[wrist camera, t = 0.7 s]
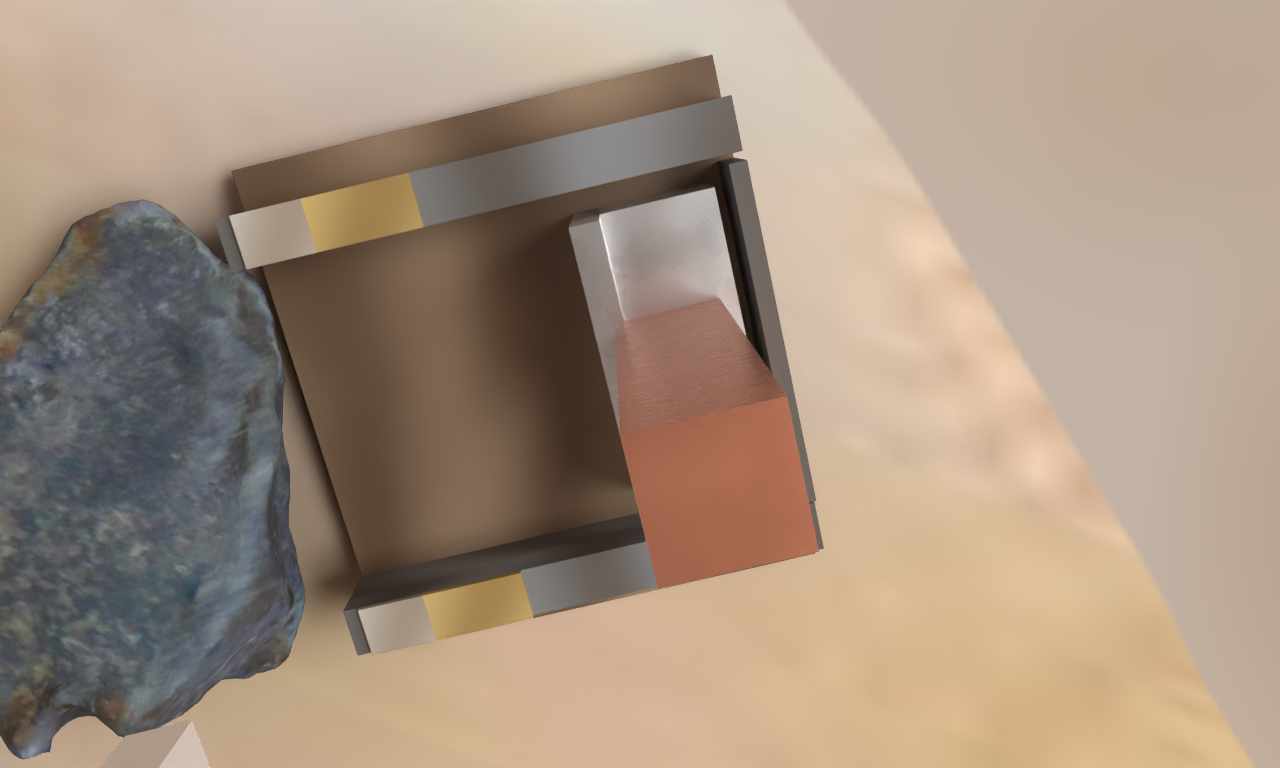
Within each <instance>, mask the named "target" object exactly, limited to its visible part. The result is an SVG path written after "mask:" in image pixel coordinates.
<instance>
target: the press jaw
mask: <svg viewBox="0 0 1280 768" xmlns="http://www.w3.org/2000/svg"><path fill="white" fill-rule="evenodd" d="M569 232H570V236H571V240H572V244H573V248H574V252H575V256H576V260H577V264H578V268H579V272H580V276H581V280H582V284H583V288H584V292H585V296H586V300H587V305H588V309H589V313H590V317H591V321H592V325H593V329H594V333H595V337H596V341H597V345H598V349H599V353H600V357H601V361H602V365H603V369H604V373H605V377H606V381H607V385H608V389H609V393H610V397H611V401H612V405H613V409H614V413H615V417H616V421H617V425H618V429H619V434H620V438H621V442H622V446H623V450H624V454H625V458H626V462H627V466H628V470H629V474H630V478H631V482H632V486H633V490H634V494H635V498H636V502H637V506H638V510H639V514H640V518H641V522H642V526H643V530H644V534H645V538H646V542H647V546H648V550H649V554H650V558H651V562H652V566H653V570H654V574H655V578H656V582H657V586H658V588H662V587H667V586H671V585H675V584H680V583H684V582H689V581H693V580H697V579H702V578H706V577H710V576H715V575H719V574H723V573H728V572H732V571H736V570H741V569H745V568H750V567H754V566H758V565H763V564H767V563H771V562H776V561H780V560H784V559H789V558H793V557H797V556H802V555H806V554H810V553H815V552H819V549H818V544H817V539H816V534H815V529H814V524H813V519H812V515H811V510H810V505H809V500H808V495H807V490H806V485H805V480H804V476H803V471H802V466H801V461H800V456H799V451H798V446H797V441H796V437H795V432H794V427H793V422H792V417H791V412H790V407H789V402H788V398H787V395H786V393H785V392H784V391H783V389H782V388H781V386H780V385H779V383H778V382H777V380H776V379H775V378H774V376H773V375H772V373H771V372H770V370H769V369H768V367H767V366H766V365H765V363H764V362H763V360H762V359H761V357H760V356H759V354H758V353H757V351H756V350H755V349H754V347H753V346H752V344H751V343H750V341H749V340H748V338H747V337H746V333H745V328H744V324H743V319H742V314H741V309H740V305H739V300H738V295H737V291H736V286H735V281H734V276H733V272H732V267H731V262H730V257H729V253H728V248H727V243H726V239H725V234H724V229H723V224H722V220H721V215H720V210H719V206H718V201H717V196H716V191H715V187H713V186H711V185H709V184H707V183H705V182H702V183H698V184H694V185H690V186H686V187H681V188H677V189H673V190H669V191H665V192H660V193H656V194H652V195H648V196H644V197H640V198H635V199H631V200H627V201H623V202H619V203H614V204H610V205H606V206H602V207H598V208H593V209H589V210H585V211H581V212H577V213H574V215H573V218H572V220H571V223H570V225H569Z"/></svg>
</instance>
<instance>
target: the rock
mask: <svg viewBox="0 0 1280 768" xmlns="http://www.w3.org/2000/svg"><path fill="white" fill-rule="evenodd" d="M284 383H285V378H284V373H283V366H282V358H281V354H280V349H279V345H278V341H277V338H276V332H275V325H274V316H273V314H272V312H271V310H270V308H269V305H268V303H267V300H266V296H265V292H264V291H263V289H262V288H261V287H260V285H259V284H258V283H257V282H256V280H255V279H254V278H253V277H252V276H251V275H250V274H249V273H248V272H247V271H245V270H241V271H237V272H233V273H231V270H230V267H229V264H228V263H227V262H225V261H224V260H222V259H221V258H219V257H218V256H216V255H215V254H214V253H213V252H212V251H211V250H210V249H209V248H208V247H207V246H206V245H205V244H204V243H203V241H201V240H200V239H199V238H198V237H197V236H196V235H195V234H194V233H192V232H191V231H190V230H189V229H188V228H187V227H186V226H185V225H184V224H183V223H182V222H181V221H180V220H179V219H178V218H177V217H176V216H174V215H173V214H171V213H170V212H168V211H167V210H166V209H164V208H163V207H162V206H160V205H157V204H155V203H152V202H149V201H146V200H139V201H129V202H125V203H119V204H116V205H114V206H112V207H111V208H107V209H103V210H100V211H98V212H96V213H94V214H92V215H89V216H85V217H84V218H82V219H80V220H78V221H77V222H75V223H74V224H73V225H72V226H71V228H70V229H69V231H68V232H67V234H66V236H65V238H64V240H63V242H62V244H61V246H60V248H59V250H58V252H57V254H56V256H55V258H54V259H53V261H52V263H51V265H50V266H49V268H48V269H47V270H46V272H45V273H44V274H43V275H42V276H41V277H40V278H38V279H37V280H36V281H35V282H34V283H33V284H32V286H31V287H30V288H29V290H28V291H27V293H26V294H25V296H24V297H23V299H22V300H21V302H20V303H19V304H18V305H17V306H16V308H15V309H14V310H13V312H12V314H11V316H10V317H9V319H8V320H7V322H6V323H5V324H4V326H3V327H2V329H1V330H0V736H1V737H2V739H3V741H4V742H5V744H6V746H7V747H8V749H9V750H10V751H11V752H12V753H13V754H14V755H15V756H17V757H18V758H20V759H27V758H31V757H35V756H37V755H39V754H41V753H45V752H50V749H51V742H52V738H53V736H54V735H55V734H56V733H57V732H58V731H59V730H60V728H61V727H63V726H64V725H65V724H66V723H68V722H69V721H71V720H73V719H75V718H77V717H83V716H94V717H97V718H98V719H99V720H100V721H101V722H103V723H104V724H105V725H106V726H108V727H109V728H110V729H111V730H113V731H114V732H115V733H116V734H117V735H118V736H121V737H125V736H127V735H131V734H135V733H140V732H144V731H148V730H152V729H157V728H159V727H161V726H162V725H164V724H166V723H168V722H170V721H171V720H173V719H175V718H177V717H179V716H181V715H183V714H184V713H185V712H186V711H188V710H189V709H190V708H191V707H193V706H194V705H195V704H197V703H198V702H199V701H200V700H201V699H202V698H203V696H204V695H205V694H206V692H208V691H209V690H210V689H211V688H212V687H213V686H215V685H216V684H217V683H218V682H219V681H221V680H224V679H235V678H239V679H246V678H250V677H251V676H253V675H255V674H256V673H262V672H266V671H269V670H272V669H275V668H277V667H279V666H280V665H281V664H282V663H283V662H284V661H285V660H286V659H287V658H288V657H289V654H290V651H291V647H292V643H293V641H294V639H295V637H296V633H297V630H298V626H299V623H300V621H301V619H302V613H303V608H304V603H305V590H304V584H303V581H302V577H301V573H300V569H299V565H298V561H297V554H296V548H295V545H294V542H293V538H292V535H291V532H290V529H289V515H288V514H289V500H290V469H289V465H288V461H287V457H286V453H285V448H284V443H283V434H282V420H283V389H284Z"/></svg>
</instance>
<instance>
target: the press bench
mask: <svg viewBox="0 0 1280 768" xmlns="http://www.w3.org/2000/svg"><path fill="white" fill-rule="evenodd" d="M739 151H743V150H742V145H741V140H740V135H739V130H738V126H737V121H736V116H735V111H734V106H733V101H732V96H731V95H730V96H726V97H722V98H721V95H720V90H719V85H718V80H717V75H716V70H715V65H714V61H713V56H712V55H709V56H705V57H701V58H697V59H693V60H689V61H684V62H680V63H676V64H672V65H668V66H664V67H660V68H655V69H651V70H647V71H643V72H639V73H635V74H631V75H626V76H622V77H618V78H614V79H610V80H606V81H602V82H597V83H593V84H589V85H585V86H581V87H577V88H573V89H568V90H564V91H560V92H556V93H552V94H548V95H544V96H539V97H535V98H531V99H527V100H523V101H519V102H515V103H510V104H506V105H502V106H498V107H494V108H490V109H486V110H481V111H477V112H473V113H469V114H465V115H461V116H457V117H452V118H448V119H444V120H440V121H436V122H432V123H428V124H423V125H419V126H415V127H411V128H407V129H403V130H399V131H394V132H390V133H386V134H382V135H378V136H374V137H370V138H365V139H361V140H357V141H353V142H349V143H345V144H341V145H336V146H332V147H328V148H324V149H320V150H316V151H311V152H307V153H303V154H299V155H295V156H291V157H287V158H282V159H278V160H274V161H270V162H266V163H262V164H258V165H253V166H249V167H245V168H241V169H237V170H233V171H232V174H233V177H234V181H235V184H236V187H237V190H238V193H239V196H240V199H241V202H242V205H243V208H244V212H243V213H239V214H235V215H230V216H226V217H222V218H218V219H214V221H215V224H216V227H217V230H218V233H219V236H220V239H221V242H222V245H223V249H224V252H225V255H226V258H227V261H228V264H229V267H230V270H231V273H233V272H237V271H241V270H245V269H246V270H247V269H251V268H255V267H259V266H262V267H263V271H264V274H265V277H266V280H267V283H268V286H269V289H270V292H271V295H272V298H273V302H274V305H275V308H276V311H277V314H278V317H279V320H280V323H281V326H282V329H283V333H284V336H285V339H286V342H287V345H288V348H289V351H290V354H291V357H292V361H293V364H294V367H295V370H296V373H297V376H298V379H299V382H300V385H301V388H302V392H303V395H304V398H305V401H306V404H307V407H308V410H309V413H310V416H311V419H312V423H313V426H314V429H315V432H316V435H317V438H318V441H319V444H320V447H321V450H322V454H323V457H324V460H325V463H326V466H327V469H328V472H329V475H330V478H331V482H332V485H333V488H334V491H335V494H336V497H337V500H338V503H339V506H340V509H341V513H342V516H343V519H344V522H345V525H346V528H347V531H348V534H349V537H350V540H351V544H352V547H353V550H354V553H355V556H356V559H357V562H358V565H359V568H360V572H361V575H362V578H361V580H360V582H359V584H358V585H357V587H356V589H355V591H354V593H353V595H352V596H351V598H350V600H349V602H348V604H347V606H346V607H345V609H344V611H343V612H344V615H345V618H346V621H347V624H348V627H349V630H350V633H351V636H352V639H353V642H354V645H355V649H356V652H357V655H362V654H366V653H372V655H375V654H379V653H383V652H388V651H392V650H396V649H401V648H405V647H409V646H414V645H418V644H423V643H427V642H431V641H436V640H440V639H444V638H449V637H453V636H457V635H462V634H466V633H470V632H475V631H479V630H484V629H488V628H492V627H497V626H501V625H505V624H510V623H514V622H518V621H523V620H527V619H531V618H536V617H540V616H544V615H549V614H553V613H558V612H562V611H566V610H571V609H575V608H579V607H584V606H588V605H592V604H597V603H601V602H605V601H610V600H614V599H619V598H623V597H627V596H632V595H636V594H640V593H645V592H649V591H653V590H658V589H662V588H666V587H662V588H658V586H657V582H656V578H655V574H654V570H653V566H652V562H651V558H650V554H649V550H648V546H647V542H646V538H645V534H644V530H643V526H642V522H641V518H640V514H639V510H638V506H637V502H636V498H635V494H634V490H633V486H632V482H631V478H630V474H629V470H628V466H627V462H626V458H625V454H624V450H623V446H622V442H621V438H620V434H619V429H618V425H617V421H616V417H615V413H614V409H613V405H612V401H611V397H610V393H609V389H608V385H607V381H606V377H605V373H604V369H603V365H602V361H601V357H600V353H599V349H598V345H597V341H596V337H595V333H594V329H593V325H592V321H591V317H590V313H589V309H588V305H587V300H586V296H585V292H584V288H583V284H582V280H581V276H580V272H579V268H578V264H577V260H576V256H575V252H574V248H573V244H572V240H571V236H570V232H569V225H570V223H571V220H572V218H573V215H574V213H577V212H581V211H585V210H589V209H593V208H598V207H602V206H606V205H610V204H614V203H619V202H623V201H627V200H631V199H635V198H640V197H644V196H648V195H652V194H656V193H660V192H665V191H669V190H673V189H677V188H681V187H686V186H690V185H694V184H698V183H702V182H705V183H707V184H709V185H711V186H713V187H715V191H716V196H717V201H718V206H719V210H720V215H721V220H722V224H723V229H724V234H725V239H726V243H727V248H728V253H729V257H730V262H731V267H732V272H733V276H734V281H735V286H736V291H737V295H738V300H739V305H740V309H741V314H742V319H743V324H744V328H745V333H746V337H747V338H748V340H749V341H750V343H751V344H752V346H753V347H754V349H755V350H756V351H757V353H758V354H759V356H760V357H761V359H762V360H763V362H764V363H765V365H766V366H767V367H768V369H769V370H770V372H771V373H772V375H773V376H774V378H775V379H776V380H777V382H778V383H779V385H780V386H781V388H782V389H783V391H784V392H785V393H786V395H787V398H788V402H789V407H790V412H791V417H792V422H793V427H794V432H795V437H796V441H797V446H798V451H799V456H800V461H801V466H802V471H803V476H804V480H805V485H806V490H807V495H808V500H809V505H810V510H811V515H812V519H813V524H814V529H815V534H816V539H817V544H818V549H824V547H823V543H822V538H821V533H820V528H819V523H818V518H817V513H816V508H815V503H814V501H816V498H815V493H814V488H813V483H812V478H811V473H810V468H809V463H808V458H807V453H806V449H805V444H804V439H803V434H802V429H801V424H800V419H799V414H798V409H797V404H796V399H795V394H794V390H793V385H792V380H791V375H790V370H789V365H788V360H787V355H786V350H785V345H784V340H783V335H782V330H781V326H780V321H779V316H778V311H777V306H776V301H775V296H774V291H773V286H772V281H771V276H770V271H769V267H768V262H767V257H766V252H765V247H764V242H763V237H762V232H761V227H760V222H759V217H758V212H757V208H756V203H755V198H754V193H753V188H752V183H751V178H750V173H749V168H748V163H747V160H743V159H738V158H733V153H735V152H739ZM810 554H815V553H810ZM810 554H806V555H810ZM806 555H802V556H806ZM802 556H797V557H802ZM797 557H793V558H797ZM793 558H789V559H793ZM784 560H788V559H784ZM784 560H780V561H784ZM780 561H776V562H780ZM771 563H775V562H771ZM771 563H767V564H771ZM767 564H763V565H767ZM758 566H762V565H758ZM758 566H754V567H758ZM754 567H750V568H754ZM745 569H749V568H745ZM745 569H741V570H745ZM741 570H736V571H741ZM736 571H732V572H736ZM732 572H728V573H732ZM723 574H727V573H723ZM723 574H719V575H723ZM719 575H715V576H719ZM710 577H714V576H710ZM710 577H706V578H710ZM706 578H702V579H706ZM697 580H701V579H697ZM697 580H693V581H697ZM693 581H689V582H693ZM684 583H688V582H684ZM684 583H680V584H684ZM680 584H675V585H680ZM675 585H671V586H675ZM671 586H667V587H671Z"/></svg>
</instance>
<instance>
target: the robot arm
mask: <svg viewBox="0 0 1280 768" xmlns="http://www.w3.org/2000/svg"><path fill="white" fill-rule="evenodd" d="M100 768H210V765H209V763H208V760H207V757H206V755H205V752H204V750H203V747H202V745H201V742H200V739H199V737H198V734H197V732H196V729H195V727H194V724H193V721H192V720H190V721H186V722H182V723H178V724H173V725H169V726H165V727H161V728H157V729H152V730H148V731H144V732H140V733H135V734H131V735H127V736H125V737H124V738H123V740H122V741H121V742H120V743H119V745H118V746H117V747H116V748H115V750H114V751H113V752H112V753H111V755H110V756H109V757H108V759H107V760H106V761H105V762H104V764H103V765H102V766H101V767H100Z"/></svg>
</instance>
